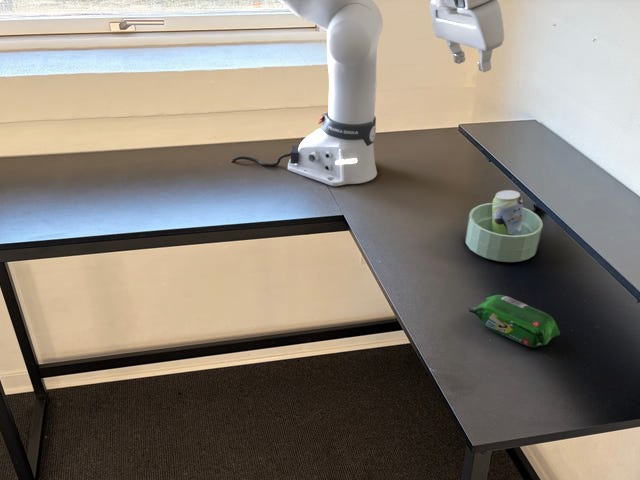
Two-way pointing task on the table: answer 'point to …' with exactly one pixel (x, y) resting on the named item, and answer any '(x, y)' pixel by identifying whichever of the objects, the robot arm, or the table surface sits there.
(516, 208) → the beverage can
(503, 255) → the bowl
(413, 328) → the table surface
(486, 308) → the snack package
